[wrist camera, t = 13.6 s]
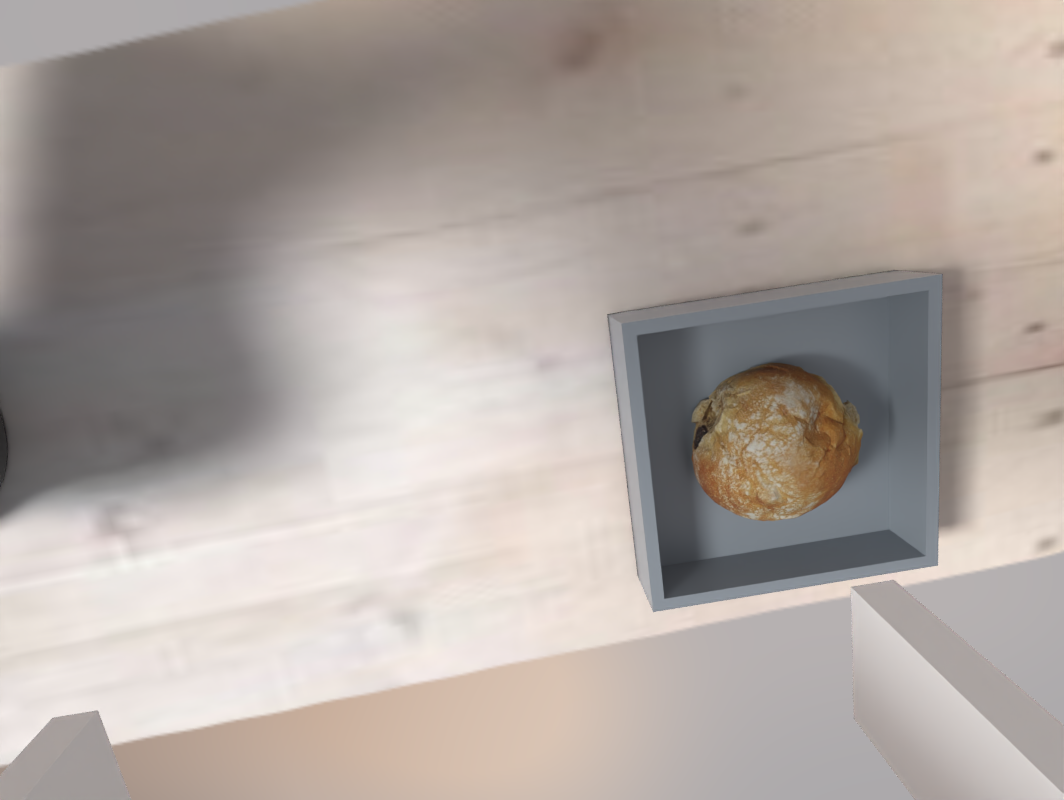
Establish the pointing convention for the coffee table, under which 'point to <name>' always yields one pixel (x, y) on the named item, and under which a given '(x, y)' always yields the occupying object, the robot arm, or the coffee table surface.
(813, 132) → the coffee table surface
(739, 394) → the bread roll
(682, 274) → the coffee table surface
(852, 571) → the grey tray
